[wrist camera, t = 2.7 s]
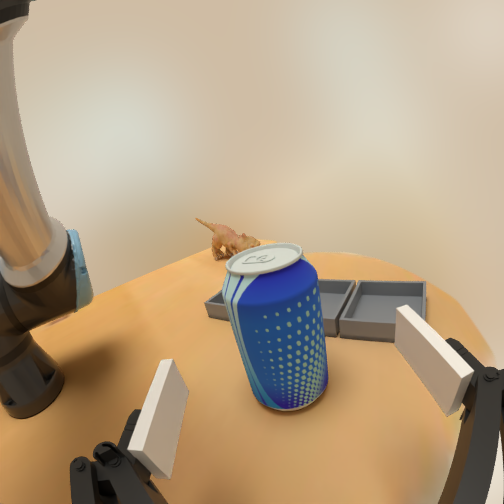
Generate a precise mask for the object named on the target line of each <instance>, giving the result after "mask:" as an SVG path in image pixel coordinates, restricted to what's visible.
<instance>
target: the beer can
mask: <svg viewBox="0 0 504 504" xmlns="http://www.w3.org/2000/svg"><path fill="white" fill-rule="evenodd" d="M302 254H303V250H302V248H301V247H300V246H298V245H296V244H291V243H274V244H267V245H262V246H257V247H254V248H250V249H247V250H245V251H242V252H240V253H238V254H236V255H234V256H233V257H231V258H230V259H229V260H228V261H227V262H226V269H227V274H226V277H225V281H224V284H223V287H222V296H223V299H224V303H225V306H226V309H227V313H228V316H229V319H230V323H231V326H232V329H233V332H234V335H235V339H236V342H237V345H238V348H239V351H240V354H241V358H242V361H243V364H244V367H245V370H246V373H247V376H248V379H249V382H250V385H251V388H252V391H253V394H254V396H255V397H256V399H257V400H258V401H259V402H261V403H262V404H264V405H266V406H268V407H270V408H273V409H276V410H280V411H294V410H298V409H301V408H304V407H306V406H308V405H310V404H311V403H312V402H314V401H315V400H316V399H317V398H318V397H319V396H320V395H321V394H322V393H323V391H324V390H325V388H326V386H327V383H328V367H327V355H326V345H325V334H324V325H323V316H322V307H321V299H320V291H319V284H318V276H317V272H316V270H315V268H314V267H313V266H312V265H311V264H310V262H309V261H308V260H307V259H306V258H305V257H304V256H303V255H302Z"/></svg>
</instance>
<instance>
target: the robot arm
mask: <svg viewBox="0 0 504 504" xmlns="http://www.w3.org/2000/svg"><path fill="white" fill-rule="evenodd" d="M31 1H35V0H0V403H1V404H2V406H3V407H4V408H5V410H6V411H7V412H8V414H9V415H11V416H12V417H15V418H26V417H30V416H32V415H35V414H37V413H38V412H40V411H42V410H43V409H44V408H46V407H47V406H48V405H49V404H50V403H51V402H52V401H53V400H54V399H55V398H56V396H57V395H58V393H59V392H60V390H61V388H62V386H63V382H64V375H63V372H62V371H61V369H60V367H59V366H58V364H57V363H56V362H55V361H54V360H53V359H52V358H51V357H50V356H49V355H48V354H47V353H46V352H45V351H44V350H43V349H42V348H41V347H40V346H39V345H38V344H37V343H36V342H35V341H34V339H33V337H32V336H31V334H30V332H29V330H32V329H34V328H36V327H39V326H41V325H43V324H46V323H48V322H50V321H53V320H55V319H58V318H60V317H63V316H65V315H68V314H70V313H73V312H74V313H75V312H77V311H78V310H79V309H81V308H83V307H85V306H87V305H89V304H90V303H91V302H92V300H93V290H92V286H91V282H90V278H89V275H88V271H87V268H86V264H85V260H84V255H83V251H82V248H81V243H80V239H79V236H78V232H77V231H76V230H74V229H73V230H65V228H64V226H63V224H62V223H61V222H60V221H58V220H57V219H55V218H52V217H49V216H48V213H47V211H46V208H45V205H44V203H43V200H42V197H41V194H40V191H39V188H38V185H37V182H36V179H35V176H34V173H33V169H32V166H31V162H30V159H29V155H28V151H27V147H26V143H25V139H24V134H23V130H22V125H21V120H20V114H19V108H18V102H17V95H16V88H15V78H14V65H13V39H14V37H15V35H16V34H17V32H18V31H19V30H20V28H21V27H22V26H23V25H24V23H25V22H26V21H27V20H28V13H29V3H30V2H31ZM394 345H395V346H396V348H397V349H398V350H399V352H400V353H401V354H402V356H403V357H404V358H405V359H406V361H407V362H408V363H409V365H410V366H411V367H412V369H413V370H414V372H415V373H416V374H417V376H418V377H419V378H420V380H421V381H422V382H423V384H424V385H425V387H426V388H427V389H428V391H429V392H430V394H431V395H432V396H433V398H434V399H435V401H436V402H437V403H438V405H439V406H440V408H441V409H442V411H443V412H444V414H445V415H446V417H448V416H449V415H451V414H453V413H454V412H456V411H458V410H459V408H460V406H461V403H463V404H464V406H465V409H464V411H463V413H462V415H461V417H460V420H461V419H462V423H461V429H460V433H459V438H458V442H457V446H456V450H455V454H454V458H453V462H452V465H451V468H450V472H449V475H448V478H447V481H446V484H445V487H444V489H443V492H442V495H441V497H440V500H439V502H438V504H485V502H486V499H487V495H488V491H489V488H490V484H491V479H492V475H493V470H494V465H495V460H496V454H497V448H498V439H499V431H500V434H501V443H502V452H503V468H504V369H502V370H498V369H496V368H494V367H484V366H483V365H482V364H481V363H480V362H479V361H478V360H477V359H476V358H475V357H474V356H473V355H472V354H471V353H470V352H468V350H467V349H466V348H464V346H463V345H462V344H461V343H460V342H459V341H457V340H455V339H452V338H449V339H447V340H444V339H443V338H442V337H441V336H440V335H439V334H438V333H437V332H436V331H435V330H434V329H433V328H431V327H430V326H429V325H428V324H427V323H426V322H425V321H424V320H423V319H422V318H421V317H420V316H419V315H418V314H417V313H416V312H415V311H414V310H412V309H411V308H410V307H409V306H408V305H404V306H401V307H398V308H396V328H395V344H394ZM188 394H189V390H188V388H187V386H186V385H185V383H184V381H183V379H182V377H181V375H180V373H179V371H178V369H177V367H176V364H175V362H174V360H173V359H166V360H161V362H160V364H159V366H158V369H157V371H156V374H155V376H154V379H153V382H152V384H151V387H150V389H149V392H148V394H147V397H146V400H145V402H144V405H143V408H142V410H138V409H135V410H134V411H133V412H132V414H131V415H130V416H129V418H128V421H127V423H126V424H127V425H126V426H125V428H124V431H123V433H122V436H121V438H120V441H119V443H118V446H116V445H115V444H114V443H112V442H106V441H105V442H102V443H100V444H98V445H97V446H96V447H95V449H94V451H93V457H94V458H95V459H96V460H97V461H95V462H91V461H90V460H88V459H87V458H86V457H77V458H75V459H74V460H73V461H72V462H71V464H70V485H71V499H72V504H168V503H167V501H166V500H165V499H164V497H163V496H162V494H161V493H160V492H159V490H158V489H157V487H156V486H155V485H154V483H153V482H152V481H151V480H150V475H151V474H153V475H154V476H155V477H156V478H160V479H171V475H172V470H173V465H174V460H175V455H176V450H177V445H178V440H179V435H180V430H181V426H182V421H183V416H184V412H185V407H186V403H187V398H188ZM462 417H463V418H462ZM503 499H504V498H503ZM503 504H504V500H503Z"/></svg>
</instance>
